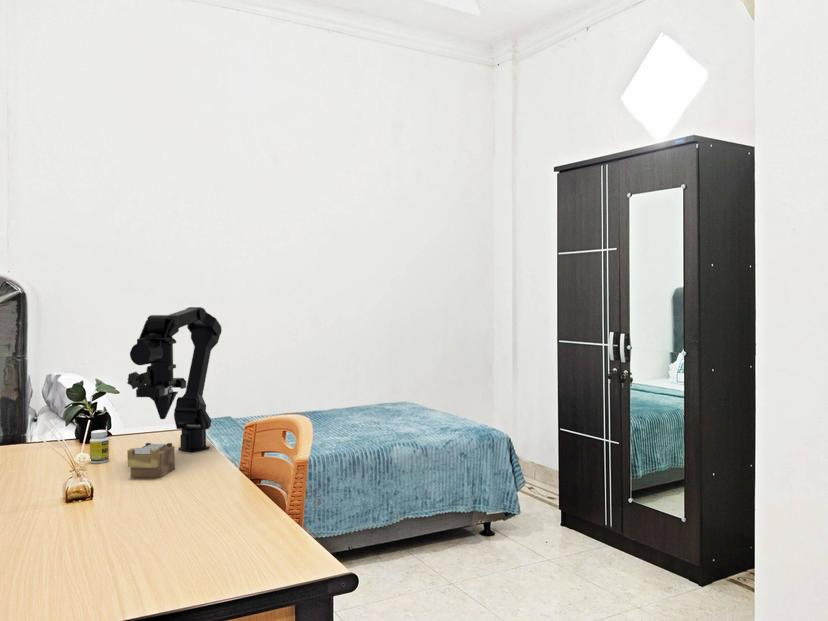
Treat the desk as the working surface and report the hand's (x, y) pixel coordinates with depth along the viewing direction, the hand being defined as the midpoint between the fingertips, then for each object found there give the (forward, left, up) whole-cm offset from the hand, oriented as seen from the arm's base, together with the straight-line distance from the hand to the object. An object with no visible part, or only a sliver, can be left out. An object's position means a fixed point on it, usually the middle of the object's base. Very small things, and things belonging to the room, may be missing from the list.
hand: (162, 419), depth 185 cm
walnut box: (+8, +7, -12) cm, 16 cm away
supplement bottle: (+9, -16, -12) cm, 22 cm away
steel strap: (+8, +7, -6) cm, 13 cm away
